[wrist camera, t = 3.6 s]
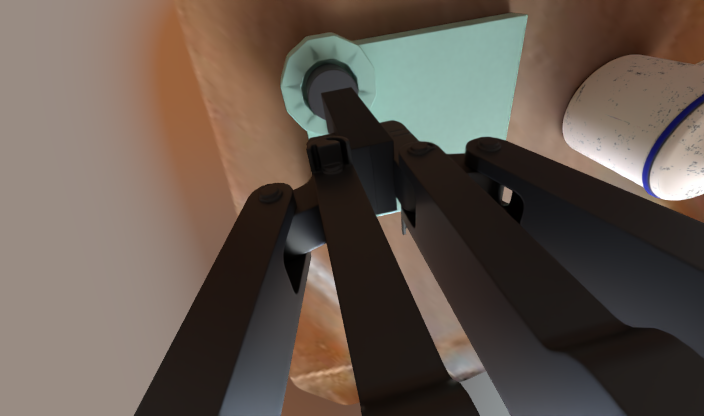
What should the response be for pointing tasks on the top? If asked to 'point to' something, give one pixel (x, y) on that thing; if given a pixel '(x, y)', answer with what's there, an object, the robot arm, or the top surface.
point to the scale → (420, 78)
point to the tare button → (326, 85)
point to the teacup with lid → (643, 123)
